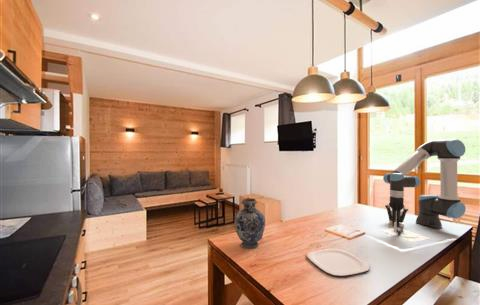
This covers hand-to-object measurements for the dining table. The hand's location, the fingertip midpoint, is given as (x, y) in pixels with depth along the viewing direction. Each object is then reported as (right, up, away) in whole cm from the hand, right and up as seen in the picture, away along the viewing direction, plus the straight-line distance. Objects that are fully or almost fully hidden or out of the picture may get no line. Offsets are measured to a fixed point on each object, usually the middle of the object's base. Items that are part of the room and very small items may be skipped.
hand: (395, 231), depth 148 cm
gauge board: (+6, -3, +1) cm, 7 cm away
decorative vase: (-97, -4, -11) cm, 98 cm away
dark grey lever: (+4, -1, +3) cm, 6 cm away
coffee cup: (+14, -3, +21) cm, 25 cm away
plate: (-54, -5, -33) cm, 63 cm away
